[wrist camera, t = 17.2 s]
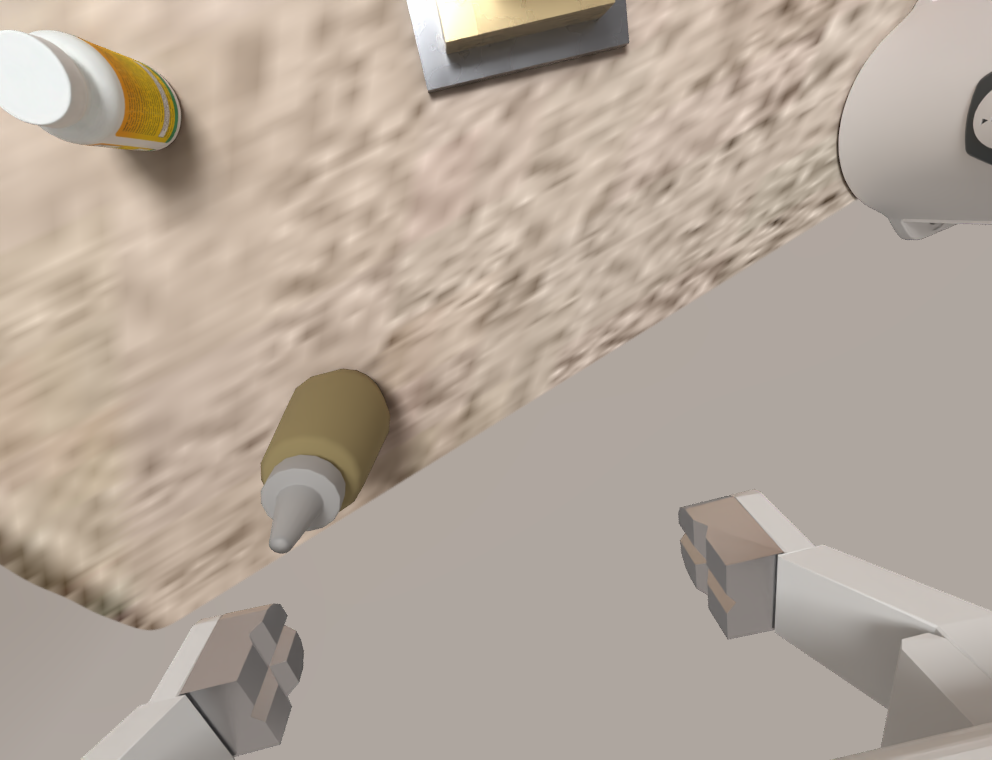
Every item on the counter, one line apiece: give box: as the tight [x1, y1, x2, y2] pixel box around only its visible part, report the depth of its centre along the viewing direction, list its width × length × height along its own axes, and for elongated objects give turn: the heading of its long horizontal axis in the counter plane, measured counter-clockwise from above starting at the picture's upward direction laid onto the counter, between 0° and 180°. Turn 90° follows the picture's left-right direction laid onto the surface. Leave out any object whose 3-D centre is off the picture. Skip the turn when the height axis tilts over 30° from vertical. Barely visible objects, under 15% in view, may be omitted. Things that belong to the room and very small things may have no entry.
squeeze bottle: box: [261, 369, 390, 553], centre depth 33 cm, size 8×8×18 cm
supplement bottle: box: [0, 30, 181, 151], centre depth 27 cm, size 5×5×10 cm
